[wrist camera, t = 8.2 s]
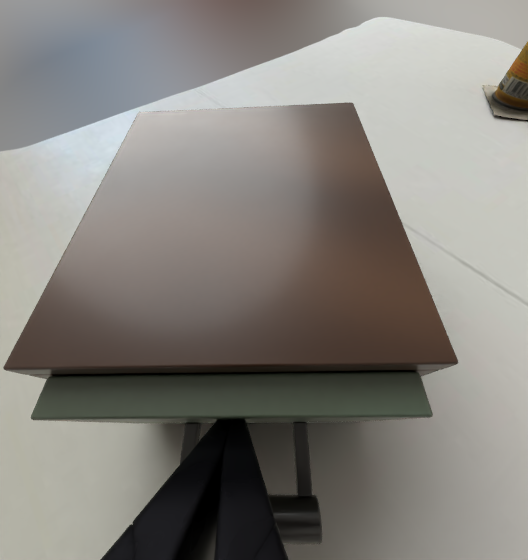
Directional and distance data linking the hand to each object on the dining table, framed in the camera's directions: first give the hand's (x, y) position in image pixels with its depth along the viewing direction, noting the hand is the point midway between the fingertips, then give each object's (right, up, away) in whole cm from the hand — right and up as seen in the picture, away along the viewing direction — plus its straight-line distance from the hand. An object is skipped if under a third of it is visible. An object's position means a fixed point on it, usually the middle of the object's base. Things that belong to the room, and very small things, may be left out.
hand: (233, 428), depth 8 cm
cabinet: (0, +4, +10) cm, 11 cm away
